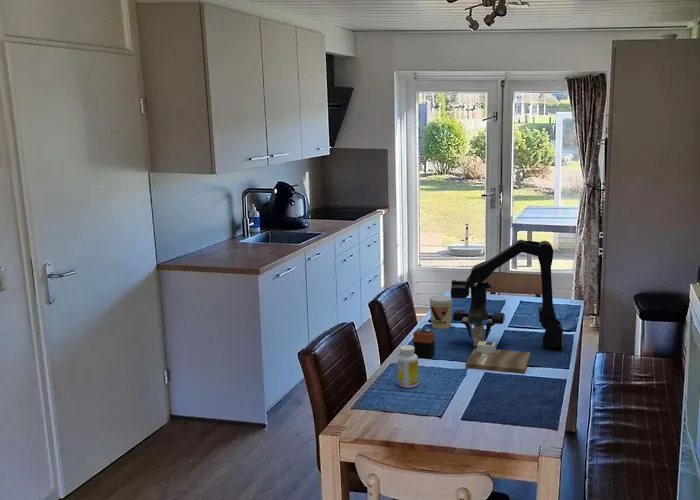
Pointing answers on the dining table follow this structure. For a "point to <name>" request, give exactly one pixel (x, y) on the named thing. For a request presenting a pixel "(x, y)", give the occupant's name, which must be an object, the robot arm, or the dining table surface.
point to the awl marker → (478, 333)
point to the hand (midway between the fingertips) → (478, 338)
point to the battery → (424, 343)
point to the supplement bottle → (407, 367)
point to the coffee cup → (441, 311)
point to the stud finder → (486, 347)
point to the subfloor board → (499, 361)
